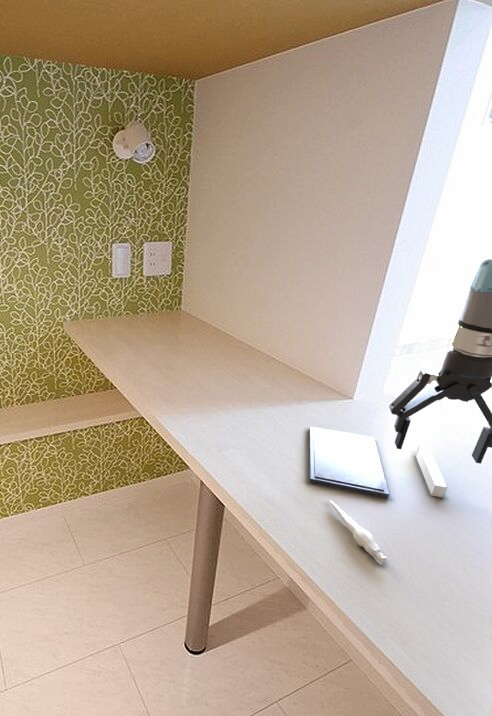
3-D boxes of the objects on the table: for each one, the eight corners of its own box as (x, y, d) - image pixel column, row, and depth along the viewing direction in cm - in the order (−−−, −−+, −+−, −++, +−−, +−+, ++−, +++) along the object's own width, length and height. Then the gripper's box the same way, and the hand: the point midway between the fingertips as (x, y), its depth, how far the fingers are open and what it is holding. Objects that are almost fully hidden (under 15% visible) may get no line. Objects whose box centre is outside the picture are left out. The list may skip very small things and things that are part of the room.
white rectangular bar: (424, 454, 95) (427, 445, 94) (443, 497, 82) (447, 487, 81) (414, 453, 96) (417, 443, 95) (431, 495, 83) (435, 485, 82)
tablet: (373, 440, 100) (374, 436, 100) (388, 498, 81) (389, 493, 81) (309, 430, 104) (310, 425, 104) (309, 482, 86) (310, 477, 85)
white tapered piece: (390, 565, 67) (394, 556, 66) (375, 568, 66) (378, 559, 66) (334, 502, 80) (336, 494, 79) (321, 504, 80) (323, 496, 79)
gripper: (399, 348, 77) (369, 449, 86) (571, 368, 70) (519, 476, 79) (392, 336, 83) (365, 431, 93) (549, 353, 76) (503, 455, 85)
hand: (435, 452), depth 86 cm, fingers open, 13 cm apart
